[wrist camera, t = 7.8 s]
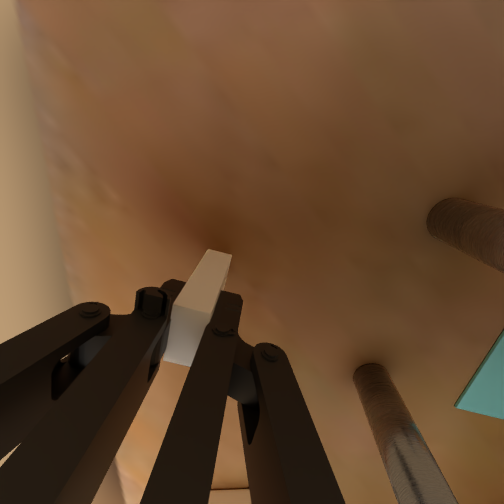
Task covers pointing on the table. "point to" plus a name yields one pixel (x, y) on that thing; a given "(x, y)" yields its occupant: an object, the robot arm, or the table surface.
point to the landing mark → (487, 385)
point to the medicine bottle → (230, 496)
